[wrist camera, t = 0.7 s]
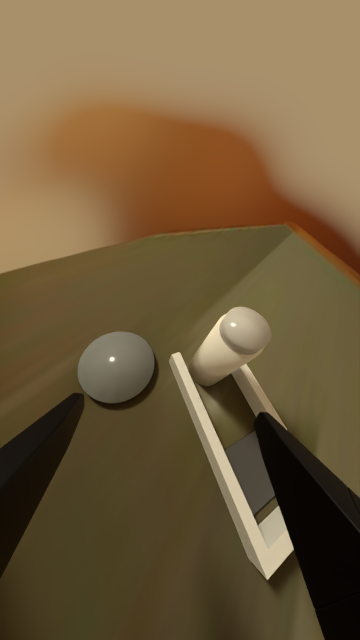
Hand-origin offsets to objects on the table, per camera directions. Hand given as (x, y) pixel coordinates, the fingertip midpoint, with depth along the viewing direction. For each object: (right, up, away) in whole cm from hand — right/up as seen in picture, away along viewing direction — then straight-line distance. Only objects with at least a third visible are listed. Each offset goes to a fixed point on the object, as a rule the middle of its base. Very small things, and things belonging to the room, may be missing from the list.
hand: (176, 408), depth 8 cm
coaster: (-9, -2, +16) cm, 18 cm away
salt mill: (+4, -3, +18) cm, 19 cm away
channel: (+7, -9, +15) cm, 19 cm away
